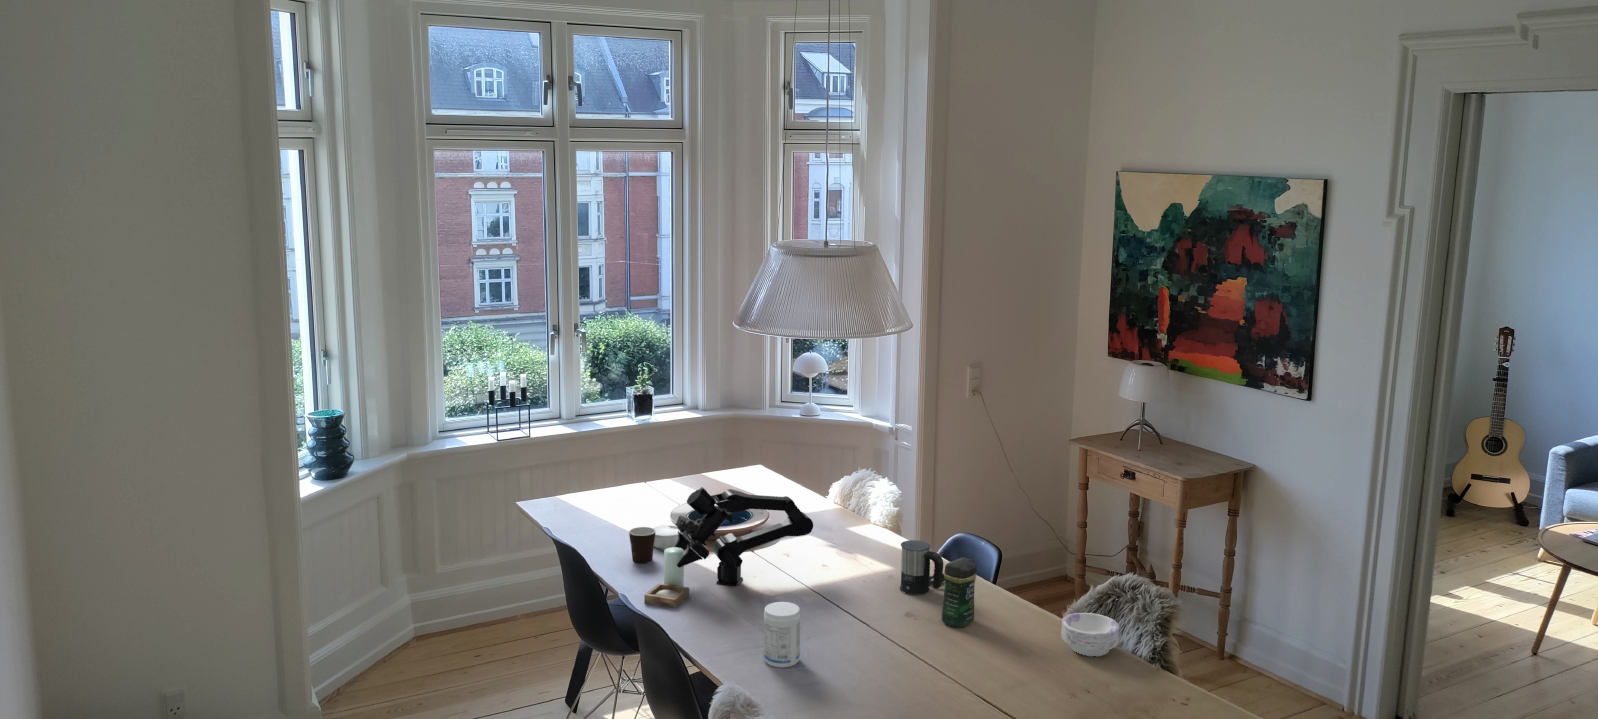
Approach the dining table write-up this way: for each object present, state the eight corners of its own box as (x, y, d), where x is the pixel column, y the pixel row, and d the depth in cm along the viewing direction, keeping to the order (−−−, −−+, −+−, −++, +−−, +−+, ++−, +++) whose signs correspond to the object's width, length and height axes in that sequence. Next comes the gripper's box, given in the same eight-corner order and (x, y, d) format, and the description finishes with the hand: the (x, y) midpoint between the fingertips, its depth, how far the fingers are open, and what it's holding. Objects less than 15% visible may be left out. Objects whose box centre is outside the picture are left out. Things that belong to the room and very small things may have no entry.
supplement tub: (781, 649, 292) (782, 598, 290) (807, 660, 286) (808, 608, 284) (755, 660, 285) (756, 608, 283) (781, 672, 279) (782, 618, 277)
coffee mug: (650, 566, 351) (650, 536, 350) (625, 563, 353) (625, 534, 351) (662, 553, 362) (662, 525, 361) (637, 551, 364) (637, 523, 362)
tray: (689, 595, 328) (689, 587, 327) (674, 607, 318) (674, 599, 318) (659, 590, 331) (659, 582, 330) (644, 603, 322) (644, 594, 321)
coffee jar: (960, 631, 306) (963, 568, 303) (937, 623, 311) (939, 561, 308) (978, 620, 314) (981, 559, 310) (955, 613, 319) (958, 553, 315)
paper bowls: (1064, 634, 306) (1066, 607, 304) (1120, 643, 300) (1122, 616, 299) (1056, 655, 292) (1058, 628, 290) (1114, 666, 286) (1116, 638, 285)
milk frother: (896, 593, 333) (897, 547, 330) (906, 575, 348) (908, 531, 345) (942, 599, 328) (944, 553, 326) (950, 581, 343) (953, 536, 341)
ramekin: (689, 543, 373) (689, 528, 372) (669, 552, 364) (669, 537, 363) (664, 537, 379) (664, 522, 378) (643, 546, 370) (643, 531, 369)
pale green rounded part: (687, 585, 336) (687, 548, 333) (678, 592, 330) (678, 555, 328) (669, 582, 337) (669, 546, 335) (660, 589, 332) (660, 552, 330)
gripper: (684, 498, 340) (650, 535, 338) (698, 516, 322) (662, 555, 321) (709, 520, 344) (674, 557, 342) (724, 539, 326) (688, 578, 325)
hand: (674, 561), depth 332 cm, fingers open, 9 cm apart
